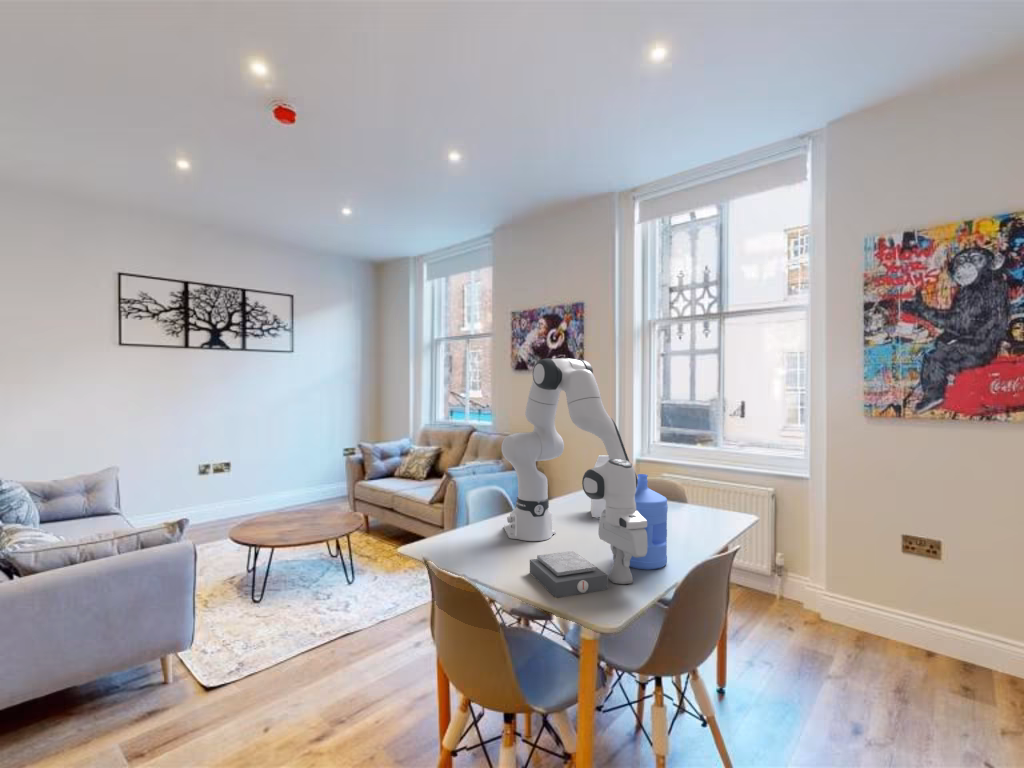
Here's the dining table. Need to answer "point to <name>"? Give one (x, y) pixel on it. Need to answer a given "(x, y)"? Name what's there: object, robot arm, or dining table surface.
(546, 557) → the pan
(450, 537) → the dining table surface
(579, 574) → the base
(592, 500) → the milk
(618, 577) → the flask
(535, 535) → the robot arm
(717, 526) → the dining table surface
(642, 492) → the water jug
